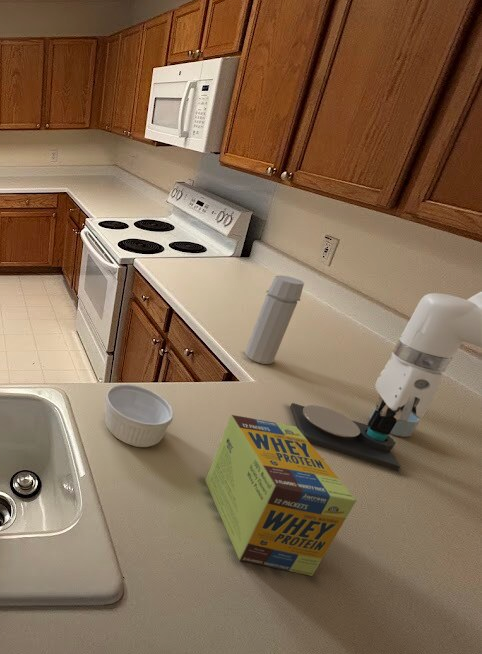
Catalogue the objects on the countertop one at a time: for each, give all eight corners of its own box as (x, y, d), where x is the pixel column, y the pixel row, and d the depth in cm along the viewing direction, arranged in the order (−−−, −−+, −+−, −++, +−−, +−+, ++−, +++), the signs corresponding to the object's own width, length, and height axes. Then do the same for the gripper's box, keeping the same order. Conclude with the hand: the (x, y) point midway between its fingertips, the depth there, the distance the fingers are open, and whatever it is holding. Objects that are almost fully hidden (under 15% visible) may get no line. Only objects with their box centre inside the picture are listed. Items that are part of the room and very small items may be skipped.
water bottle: (274, 369, 115) (308, 287, 106) (242, 359, 119) (272, 279, 109) (273, 355, 122) (304, 277, 113) (242, 346, 126) (271, 270, 117)
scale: (376, 433, 92) (382, 422, 91) (400, 472, 82) (407, 461, 80) (289, 407, 99) (294, 397, 98) (301, 440, 88) (306, 429, 87)
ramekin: (111, 401, 96) (117, 376, 93) (170, 426, 89) (179, 400, 86) (91, 432, 85) (97, 405, 83) (157, 463, 79) (166, 435, 76)
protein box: (239, 562, 61) (275, 486, 56) (203, 480, 76) (229, 412, 70) (314, 578, 60) (360, 501, 54) (264, 491, 74) (296, 423, 69)
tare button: (381, 435, 88) (385, 429, 87) (387, 443, 85) (390, 438, 85) (364, 429, 89) (367, 424, 88) (369, 438, 86) (372, 432, 86)
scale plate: (351, 416, 92) (351, 415, 92) (366, 444, 84) (367, 443, 84) (298, 401, 96) (298, 399, 96) (307, 426, 88) (308, 425, 88)
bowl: (402, 423, 96) (411, 407, 95) (416, 442, 90) (426, 426, 89) (363, 412, 99) (372, 397, 98) (374, 430, 93) (383, 414, 92)
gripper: (468, 381, 72) (416, 460, 79) (427, 345, 85) (386, 416, 91) (412, 367, 75) (367, 445, 82) (381, 334, 87) (344, 404, 94)
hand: (377, 429), depth 87 cm, fingers closed
